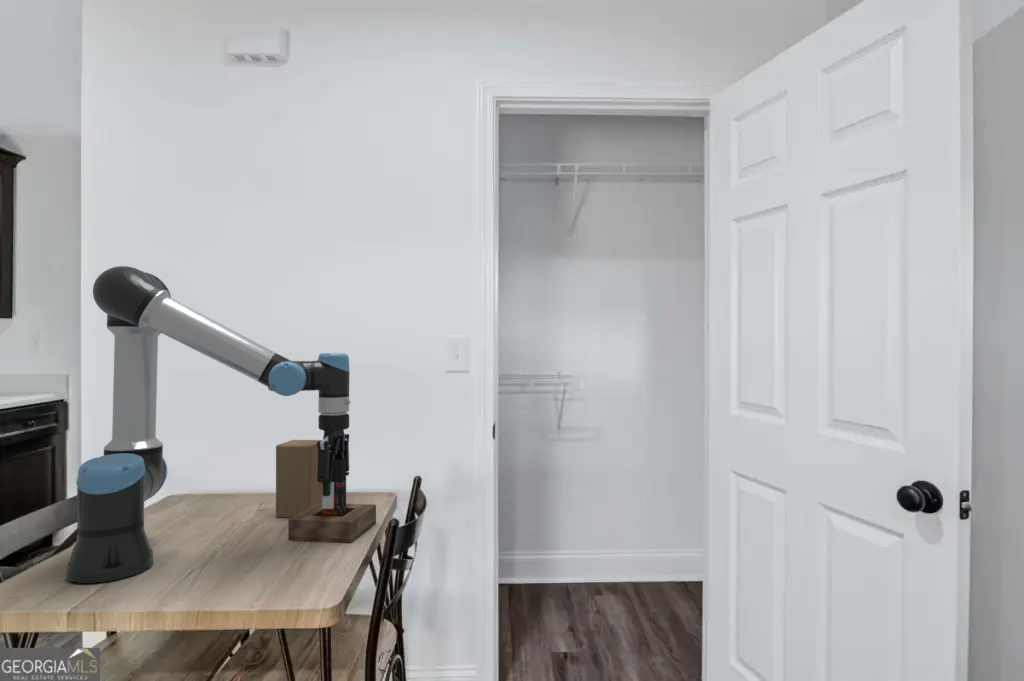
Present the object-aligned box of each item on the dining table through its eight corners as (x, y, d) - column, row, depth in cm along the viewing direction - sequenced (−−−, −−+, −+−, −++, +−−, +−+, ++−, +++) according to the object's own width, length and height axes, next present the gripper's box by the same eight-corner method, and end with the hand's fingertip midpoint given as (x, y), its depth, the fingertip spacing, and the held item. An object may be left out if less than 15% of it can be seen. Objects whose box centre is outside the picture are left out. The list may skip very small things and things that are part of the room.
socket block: (288, 540, 142) (288, 519, 143) (319, 521, 158) (319, 502, 158) (351, 543, 140) (351, 522, 140) (376, 523, 156) (376, 504, 156)
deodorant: (351, 518, 150) (351, 459, 150) (332, 524, 145) (332, 463, 145) (335, 515, 153) (335, 457, 154) (316, 521, 148) (316, 461, 149)
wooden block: (325, 508, 171) (325, 439, 171) (310, 518, 161) (310, 445, 161) (292, 508, 172) (292, 439, 172) (275, 517, 162) (275, 444, 162)
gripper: (331, 417, 140) (331, 515, 139) (362, 409, 159) (362, 496, 158) (301, 417, 141) (301, 514, 141) (336, 409, 160) (336, 495, 159)
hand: (333, 504), depth 149 cm, fingers closed on deodorant, 6 cm apart
